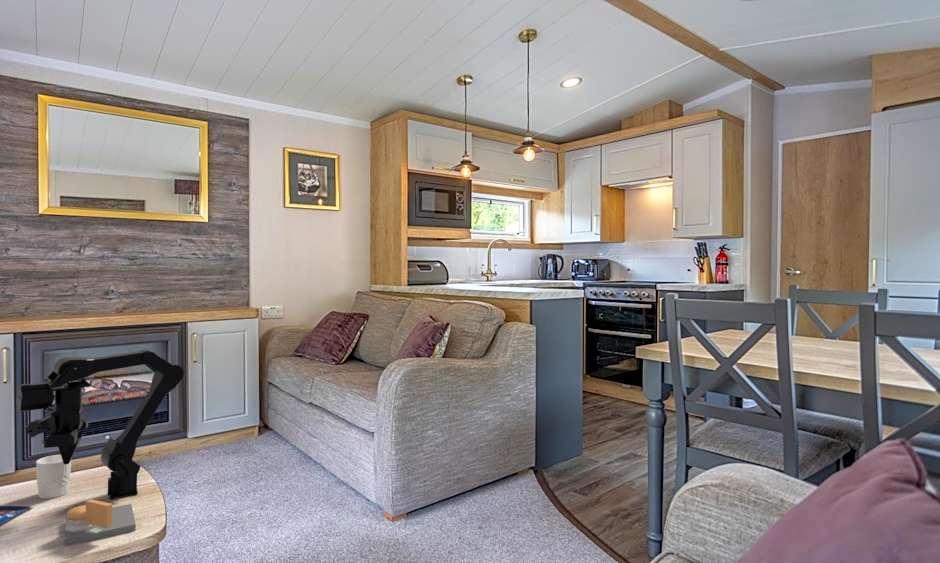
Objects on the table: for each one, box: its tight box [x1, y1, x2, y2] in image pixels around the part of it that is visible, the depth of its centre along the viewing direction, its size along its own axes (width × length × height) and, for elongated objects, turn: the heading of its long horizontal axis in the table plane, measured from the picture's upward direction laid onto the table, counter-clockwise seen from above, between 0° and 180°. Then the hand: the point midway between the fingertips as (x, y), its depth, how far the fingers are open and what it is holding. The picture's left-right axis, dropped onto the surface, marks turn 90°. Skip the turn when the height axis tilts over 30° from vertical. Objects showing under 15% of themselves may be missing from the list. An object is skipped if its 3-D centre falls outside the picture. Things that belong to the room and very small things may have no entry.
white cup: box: [35, 454, 73, 500], centre depth 148 cm, size 8×8×10 cm
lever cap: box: [66, 499, 113, 528], centre depth 125 cm, size 12×5×5 cm, turn 72°
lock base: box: [64, 503, 137, 547], centre depth 130 cm, size 14×14×4 cm
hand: (66, 463), depth 139 cm, fingers closed
